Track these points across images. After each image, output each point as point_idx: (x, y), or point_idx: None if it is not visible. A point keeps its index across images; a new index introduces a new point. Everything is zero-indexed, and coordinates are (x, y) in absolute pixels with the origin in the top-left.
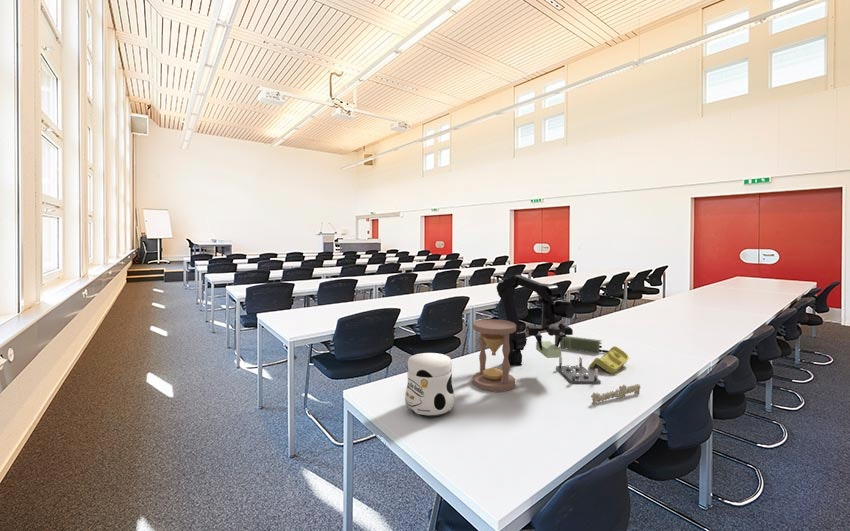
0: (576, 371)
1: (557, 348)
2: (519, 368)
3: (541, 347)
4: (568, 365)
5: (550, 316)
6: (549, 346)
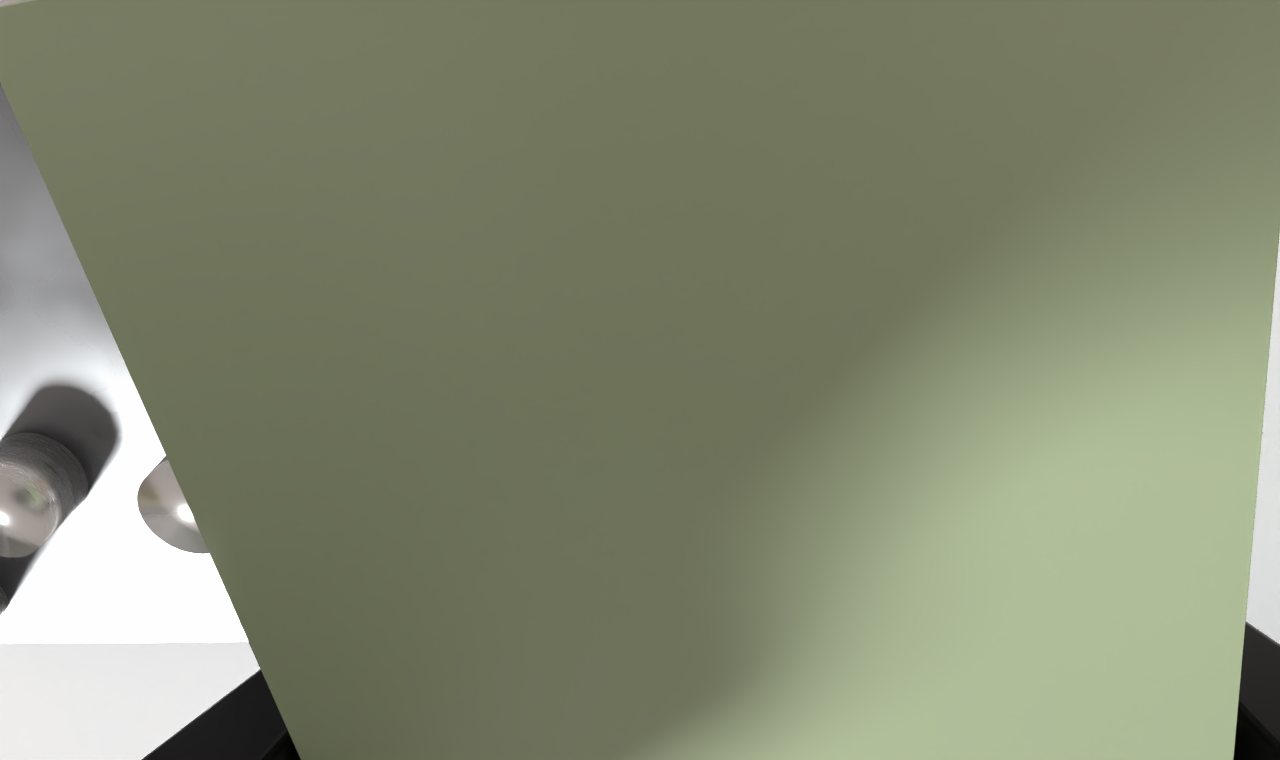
0: (69, 359)
1: (274, 216)
2: (1264, 597)
3: (1245, 680)
4: (192, 548)
5: None
6: (765, 652)
